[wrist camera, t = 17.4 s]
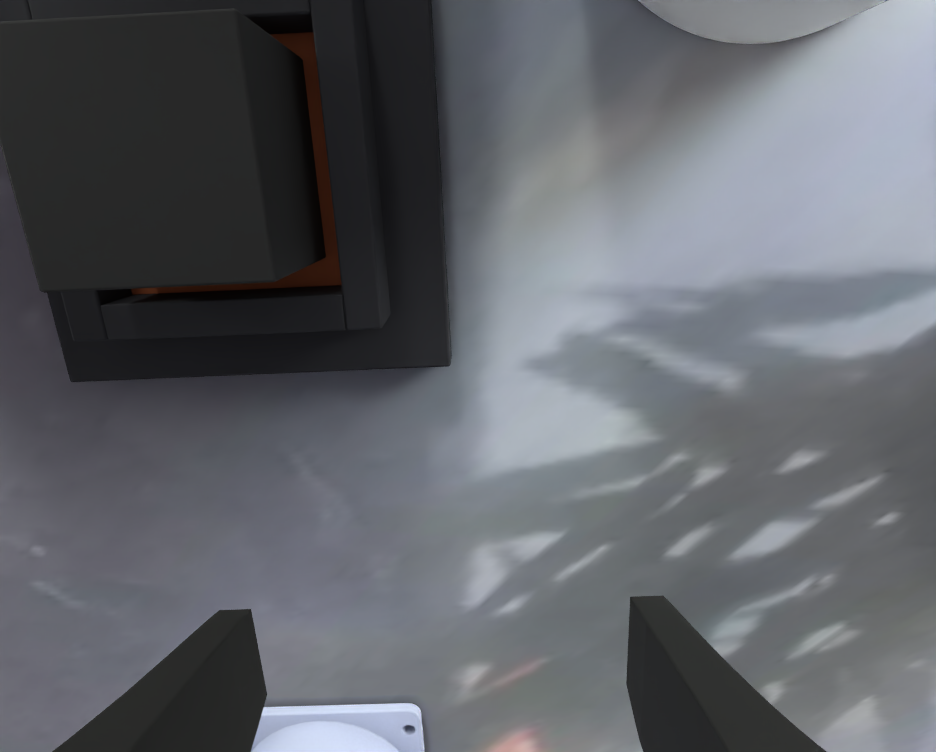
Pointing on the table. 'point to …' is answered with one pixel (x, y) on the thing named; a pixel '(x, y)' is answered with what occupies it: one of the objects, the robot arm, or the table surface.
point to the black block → (158, 150)
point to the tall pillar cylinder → (756, 17)
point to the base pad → (342, 212)
